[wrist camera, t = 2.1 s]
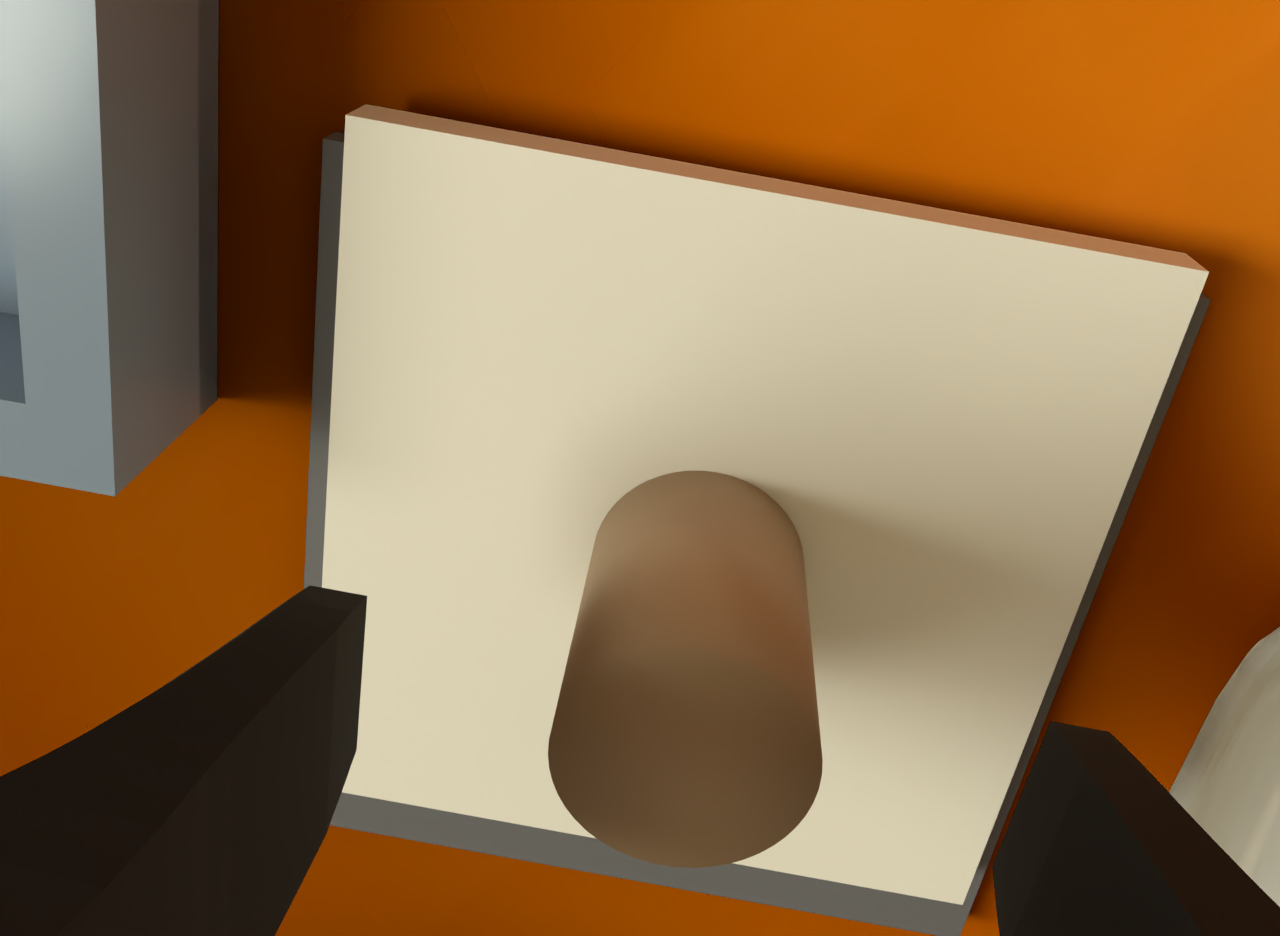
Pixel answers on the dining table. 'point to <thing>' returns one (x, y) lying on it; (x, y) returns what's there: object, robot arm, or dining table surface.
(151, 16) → the light blue square dish
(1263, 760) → the square plate
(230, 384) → the dining table surface
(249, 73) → the dining table surface
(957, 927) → the mat
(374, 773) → the lid
